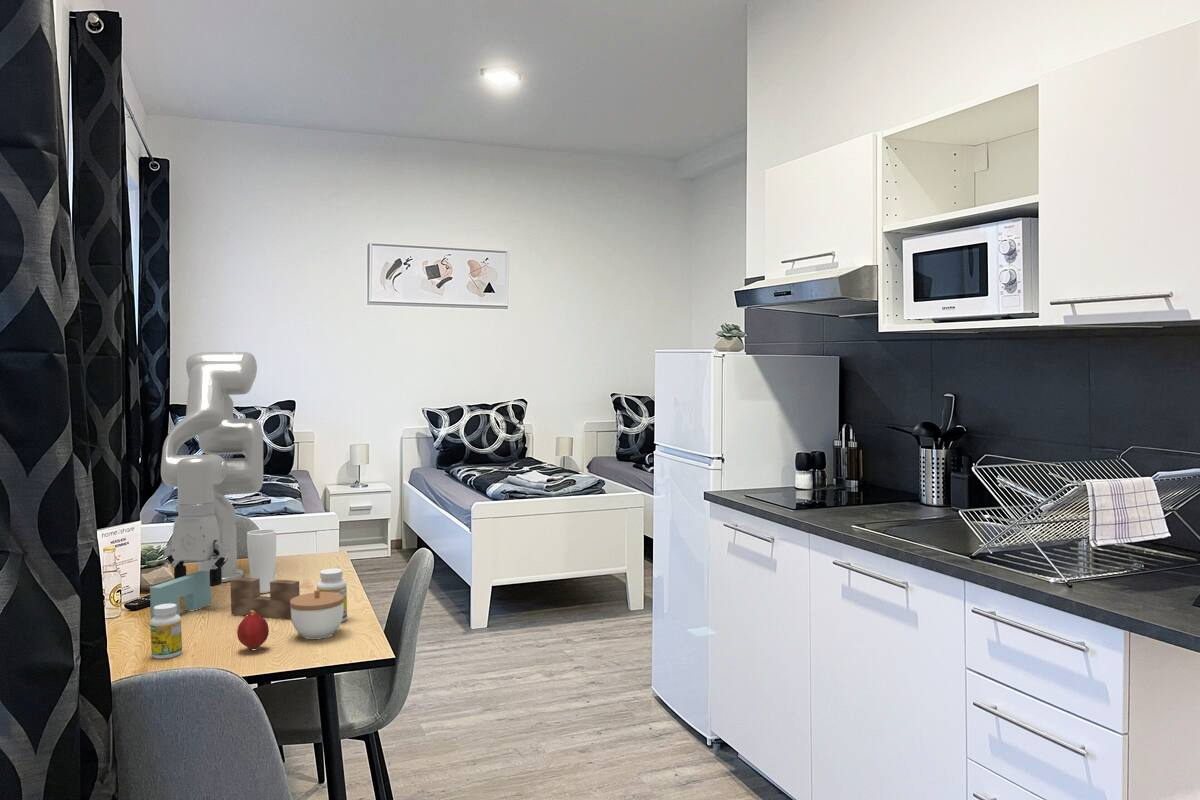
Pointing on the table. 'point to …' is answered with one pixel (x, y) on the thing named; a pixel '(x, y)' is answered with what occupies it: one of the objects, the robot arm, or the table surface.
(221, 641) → the table surface
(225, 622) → the table surface
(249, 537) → the drinking glass
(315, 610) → the lidded jar
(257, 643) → the onion
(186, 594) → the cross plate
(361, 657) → the table surface
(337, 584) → the pill bottle
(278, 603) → the slotted stand
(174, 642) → the supplement bottle
